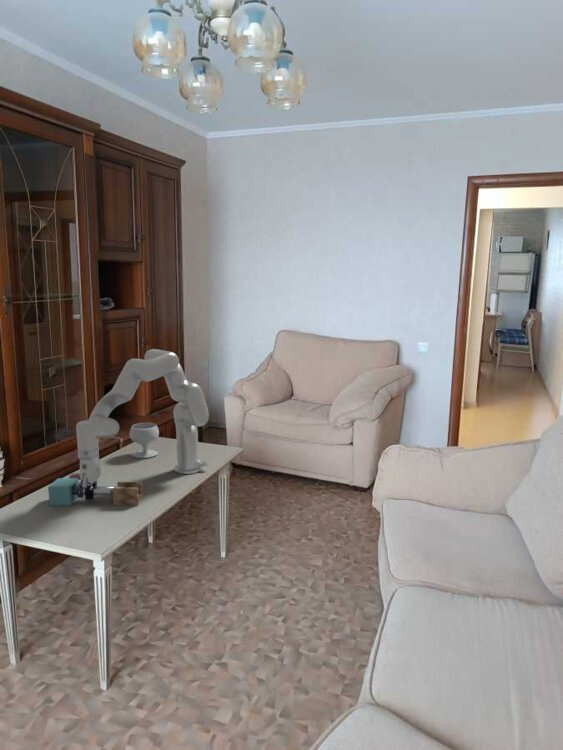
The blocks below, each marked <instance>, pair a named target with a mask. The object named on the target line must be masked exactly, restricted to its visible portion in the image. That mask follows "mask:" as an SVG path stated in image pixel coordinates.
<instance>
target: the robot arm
mask: <svg viewBox="0 0 563 750" xmlns="http://www.w3.org/2000/svg"><path fill="white" fill-rule="evenodd" d="M162 377H164V380H165V384H166V386H167V389H168V392H169V395H170V398H171V399H172V400H173V401H175V402H178V403H176V404H175V406H174V408H173V410H172V411H173V419H174V423H175V432H176V433H175V434H176V459H177V460H176V461H177V462H176V463H177V464H175V466H174V467H173V471H174V472H175V473H178V474H180V475H181V474H182V475H190V474H195V473H198V472H199V473H200V472H201V471H202V470H203V468H204V467H205V468H207V467H209V462H208V461H206V460H201V458H200V457H199V434H198V433H199V431H198V427H203V426H205V425H206V424H207V423H208V421H209V417H210V413H209V408H208V404H207V401H206V397H205V395H204V392H203V390H202V388H201V386H200V385H199V384H197V383H195V382H191V381H188V379H187V378H186V375H185V372H184V370H183V367H182V366H181V364H180V359H179V357H178V355H177V354H176V353H175V352H173V351H168V350H162V349H159V348H158V349H156V348H152V349H148V350H147V351H146V352H145V354H144V359H142V358H131V359H128V360H127V361H126V362H125V364H124V366H123V368H122V370H121V372H120V374H119V376H118V377H117V379H116V381H115V383H114V385H113V387H112V389H111V390H110V391H108V392H107V393H106V394H105V395H104V396H103V397H102V398H101V399H100V400H99V401H97V403H96V405H95V406H94V408H93V410H92V411H91V413H90V415H89V418H88V419H86V420H81V421H79V422H78V423H77V424H76V427H75V429H76V430H75V431H76V443H77V445H76V446H77V455H78V459H79V473H80V480H79V481H80V482H81V483H82V484H83V485H82V487H83V488H84V491H85V495H84V499H85V500H86V501H91V500H92V501H93V500H94V499H95V498H94V497H95V495H94V494H93V490H92V486H98V480H99V478H100V477H101V475H102V469H101V461H100V456H99V455H100V453H99V452H100V451H99V439H106V438H112V437H114V436H116V435H117V434H118V433H119V431H120V425H119V423H118V421H117V420H115V419H114V418H112V417H109V416H110V414H112V412H113V410H114V409H115V408H117V407H118V406H120V405H121V404H124V403H125V404H126V403H127V402H129V401H131V400H132V398H134V396H135V393H136V391H137V389H138V388H139V385H140V383H141V381H142V382H152V381H155V380H156V379H160V378H162ZM87 481H89V482H87ZM87 484H88V485H87Z"/></svg>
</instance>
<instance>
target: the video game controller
mask: <svg viewBox="0 0 563 750" xmlns="http://www.w3.org/2000/svg"><path fill="white" fill-rule="evenodd" d="M68 478H78V485H79V484H82V483H81V480H80V472H73V473H71V474H70V475H69V477H68ZM87 482H89V481H87ZM87 485H89V484H87Z"/></svg>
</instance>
